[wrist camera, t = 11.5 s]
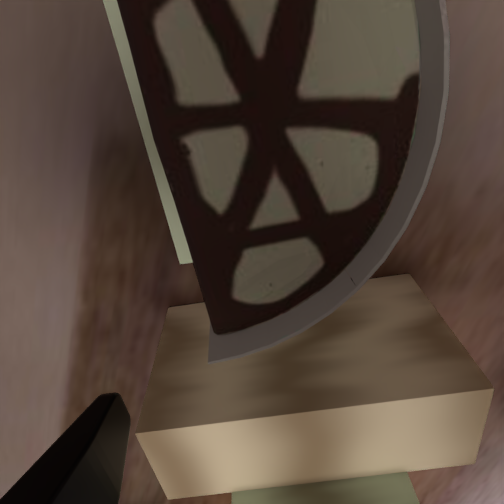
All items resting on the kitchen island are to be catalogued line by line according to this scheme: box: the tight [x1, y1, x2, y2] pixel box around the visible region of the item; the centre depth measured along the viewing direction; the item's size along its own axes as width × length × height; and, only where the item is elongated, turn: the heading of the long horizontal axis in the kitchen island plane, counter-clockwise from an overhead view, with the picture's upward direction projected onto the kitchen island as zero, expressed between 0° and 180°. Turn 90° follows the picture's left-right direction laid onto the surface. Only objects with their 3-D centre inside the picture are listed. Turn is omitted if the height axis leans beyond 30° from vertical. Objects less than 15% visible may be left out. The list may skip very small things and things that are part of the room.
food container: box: [117, 0, 450, 364], centre depth 11 cm, size 12×6×10 cm, turn 9°
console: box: [135, 274, 495, 504], centre depth 18 cm, size 14×6×10 cm, turn 99°
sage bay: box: [103, 0, 193, 264], centre depth 16 cm, size 9×15×1 cm, turn 9°
